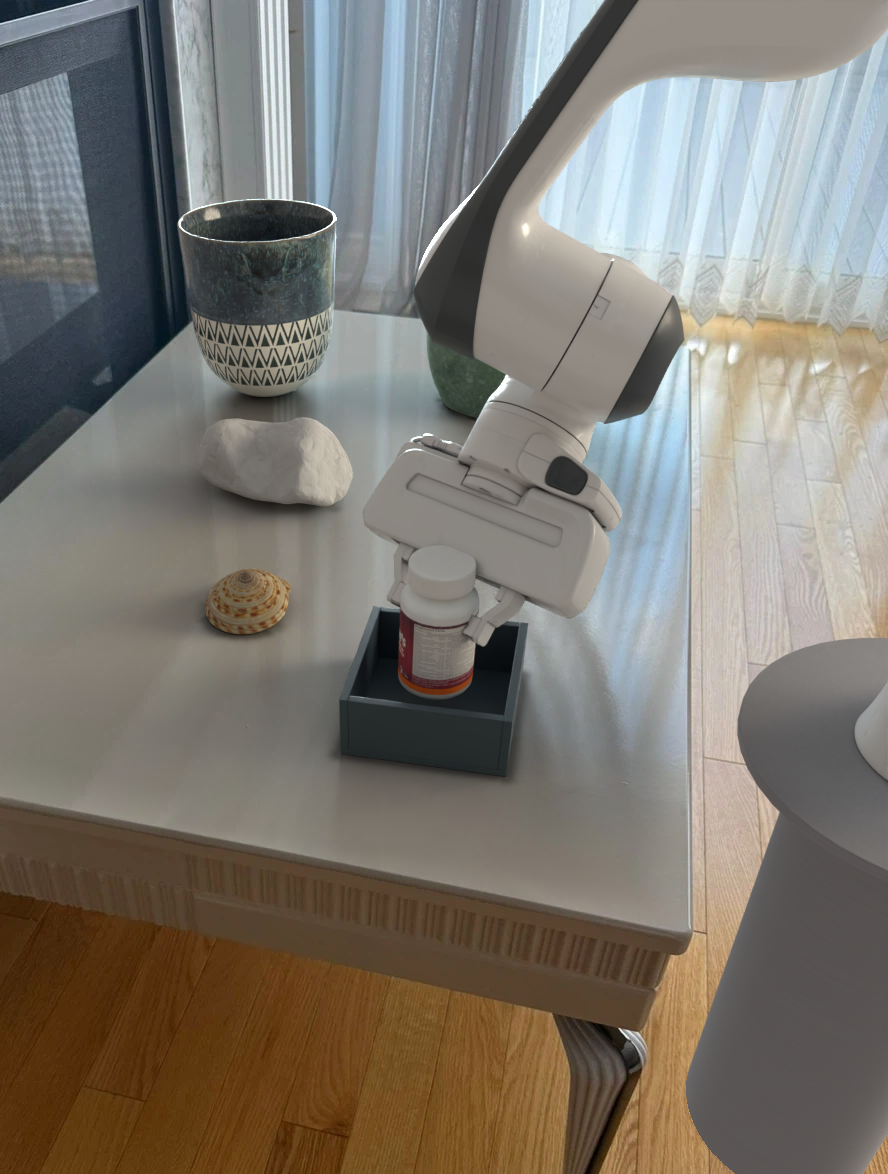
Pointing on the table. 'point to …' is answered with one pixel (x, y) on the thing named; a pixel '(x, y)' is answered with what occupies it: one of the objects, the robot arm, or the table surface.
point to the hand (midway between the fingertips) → (434, 623)
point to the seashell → (247, 601)
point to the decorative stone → (276, 461)
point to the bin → (432, 704)
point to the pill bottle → (437, 623)
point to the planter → (261, 290)
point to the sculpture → (461, 379)
